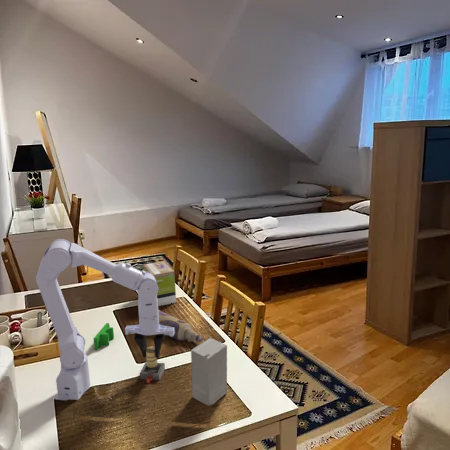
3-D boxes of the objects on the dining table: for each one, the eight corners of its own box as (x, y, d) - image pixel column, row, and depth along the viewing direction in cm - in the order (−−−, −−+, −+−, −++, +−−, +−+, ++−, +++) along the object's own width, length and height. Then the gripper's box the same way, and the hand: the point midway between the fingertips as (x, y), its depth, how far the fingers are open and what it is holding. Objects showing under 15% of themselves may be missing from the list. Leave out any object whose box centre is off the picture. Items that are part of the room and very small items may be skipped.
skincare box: (210, 385, 123) (209, 335, 119) (229, 394, 118) (228, 343, 114) (190, 399, 116) (188, 348, 112) (210, 410, 112) (208, 356, 108)
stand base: (164, 386, 122) (164, 378, 122) (131, 384, 123) (130, 376, 123) (172, 367, 132) (172, 359, 131) (142, 365, 133) (141, 358, 132)
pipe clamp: (105, 351, 143) (104, 338, 142) (94, 350, 143) (93, 338, 142) (117, 334, 154) (116, 323, 152) (107, 334, 154) (106, 322, 153)
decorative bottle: (145, 329, 157) (144, 312, 156) (161, 322, 163) (160, 306, 161) (193, 353, 140) (192, 334, 139) (209, 344, 146) (208, 326, 144)
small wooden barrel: (155, 367, 125) (154, 352, 124) (145, 367, 125) (144, 351, 124) (158, 361, 128) (157, 346, 127) (148, 361, 129) (147, 345, 127)
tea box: (144, 295, 189) (142, 263, 185) (166, 290, 193) (164, 260, 189) (154, 307, 175) (151, 274, 172) (176, 303, 179) (175, 270, 176)
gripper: (176, 309, 126) (178, 350, 129) (129, 307, 128) (132, 347, 131) (170, 319, 119) (172, 362, 122) (121, 318, 121) (124, 360, 124)
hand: (151, 356), depth 126 cm, fingers closed on small wooden barrel, 3 cm apart
